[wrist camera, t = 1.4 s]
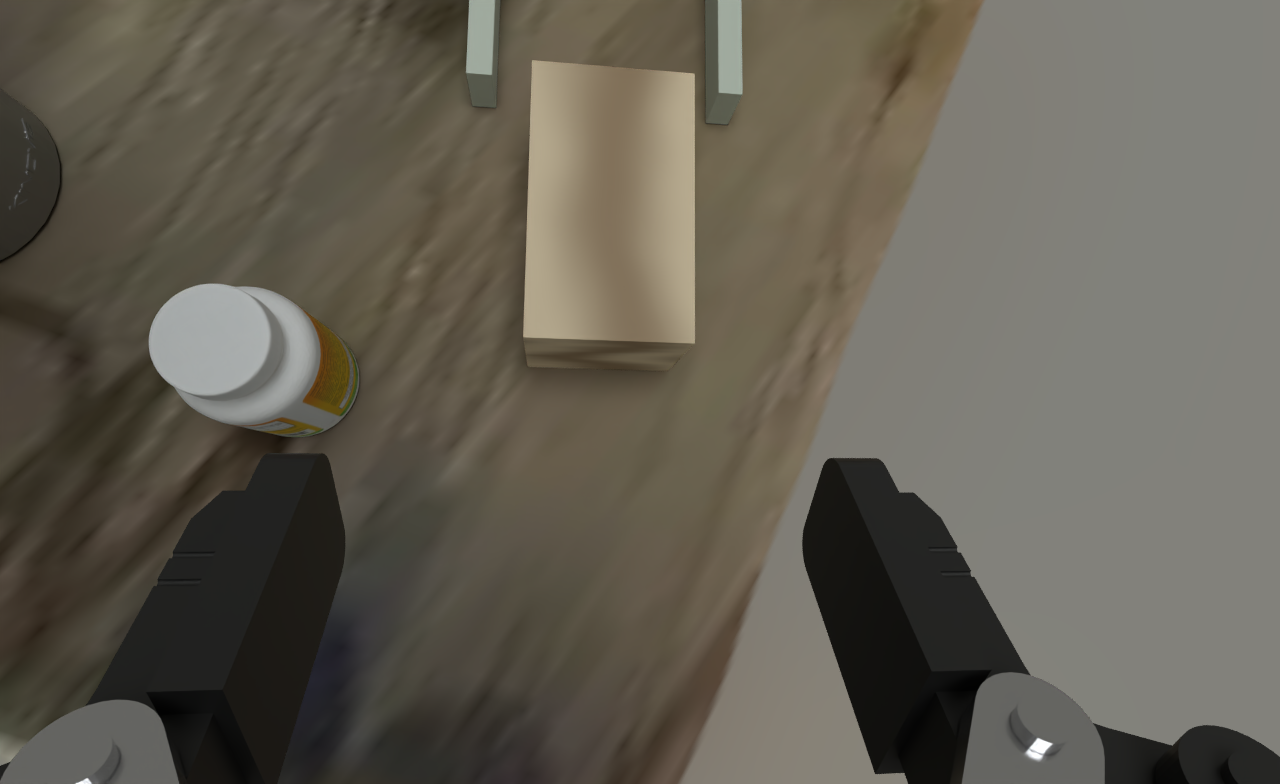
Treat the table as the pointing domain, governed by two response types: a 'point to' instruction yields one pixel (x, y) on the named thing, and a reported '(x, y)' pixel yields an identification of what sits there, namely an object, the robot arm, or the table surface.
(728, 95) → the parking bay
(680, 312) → the oak block
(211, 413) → the supplement bottle
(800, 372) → the table surface
